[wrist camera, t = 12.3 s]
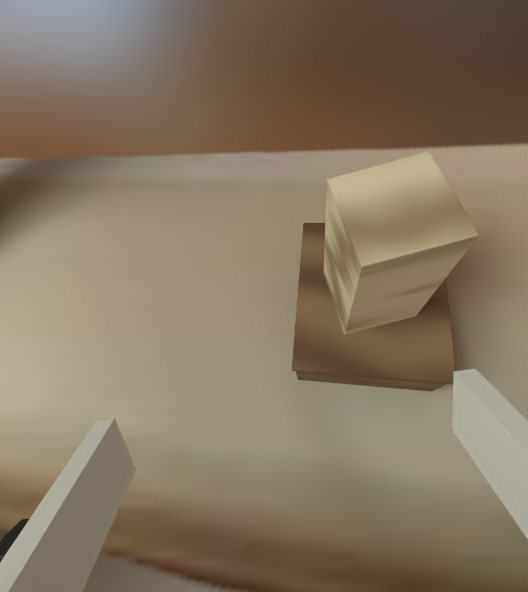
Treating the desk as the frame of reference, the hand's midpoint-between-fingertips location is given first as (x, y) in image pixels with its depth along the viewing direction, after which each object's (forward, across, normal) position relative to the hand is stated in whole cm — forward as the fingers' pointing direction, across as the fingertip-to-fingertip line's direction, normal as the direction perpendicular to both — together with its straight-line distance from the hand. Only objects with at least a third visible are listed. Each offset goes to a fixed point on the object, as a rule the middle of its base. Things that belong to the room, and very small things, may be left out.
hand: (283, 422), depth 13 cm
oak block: (+17, +8, -2) cm, 19 cm away
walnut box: (+21, +8, -7) cm, 24 cm away
